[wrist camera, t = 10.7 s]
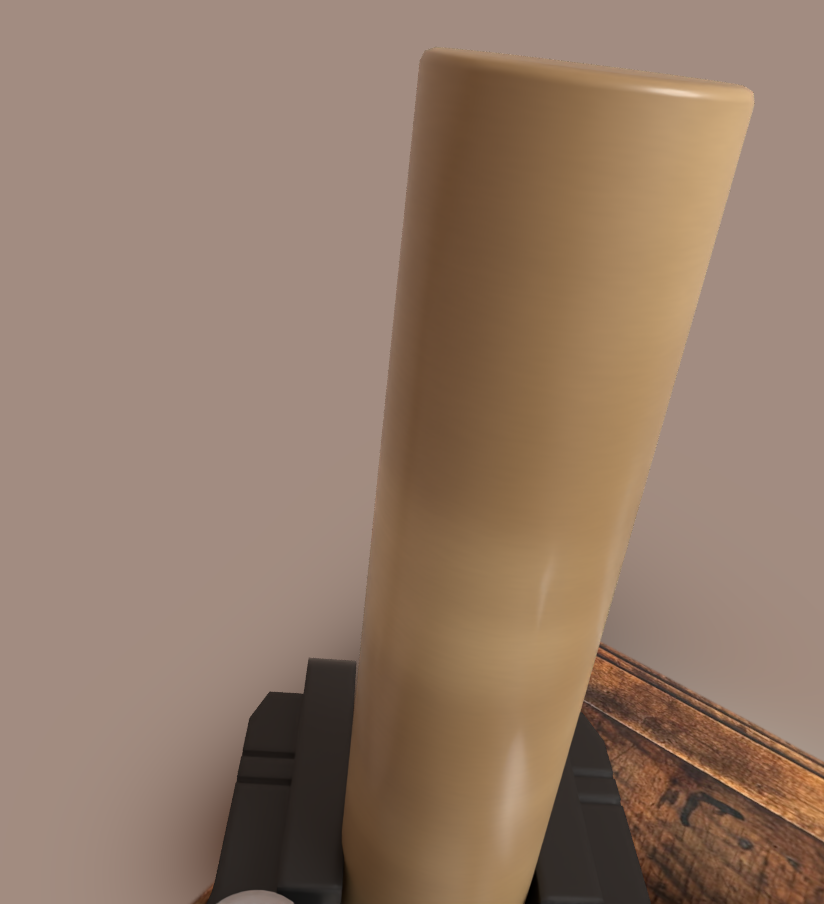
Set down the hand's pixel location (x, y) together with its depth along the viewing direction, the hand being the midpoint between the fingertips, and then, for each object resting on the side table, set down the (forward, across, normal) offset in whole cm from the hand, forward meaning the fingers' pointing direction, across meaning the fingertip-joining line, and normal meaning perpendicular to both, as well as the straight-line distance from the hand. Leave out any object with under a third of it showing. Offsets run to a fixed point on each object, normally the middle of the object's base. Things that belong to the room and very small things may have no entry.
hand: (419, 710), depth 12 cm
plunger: (-3, 0, +13) cm, 13 cm away
